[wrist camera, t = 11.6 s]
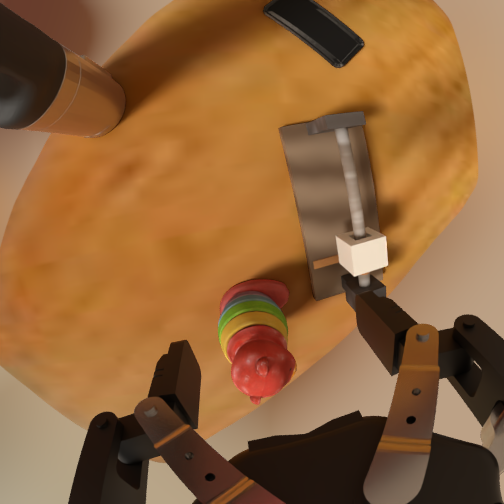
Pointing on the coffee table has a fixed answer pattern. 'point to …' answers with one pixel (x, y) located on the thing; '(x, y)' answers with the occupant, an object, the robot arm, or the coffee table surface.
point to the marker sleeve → (362, 252)
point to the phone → (316, 29)
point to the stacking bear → (256, 337)
